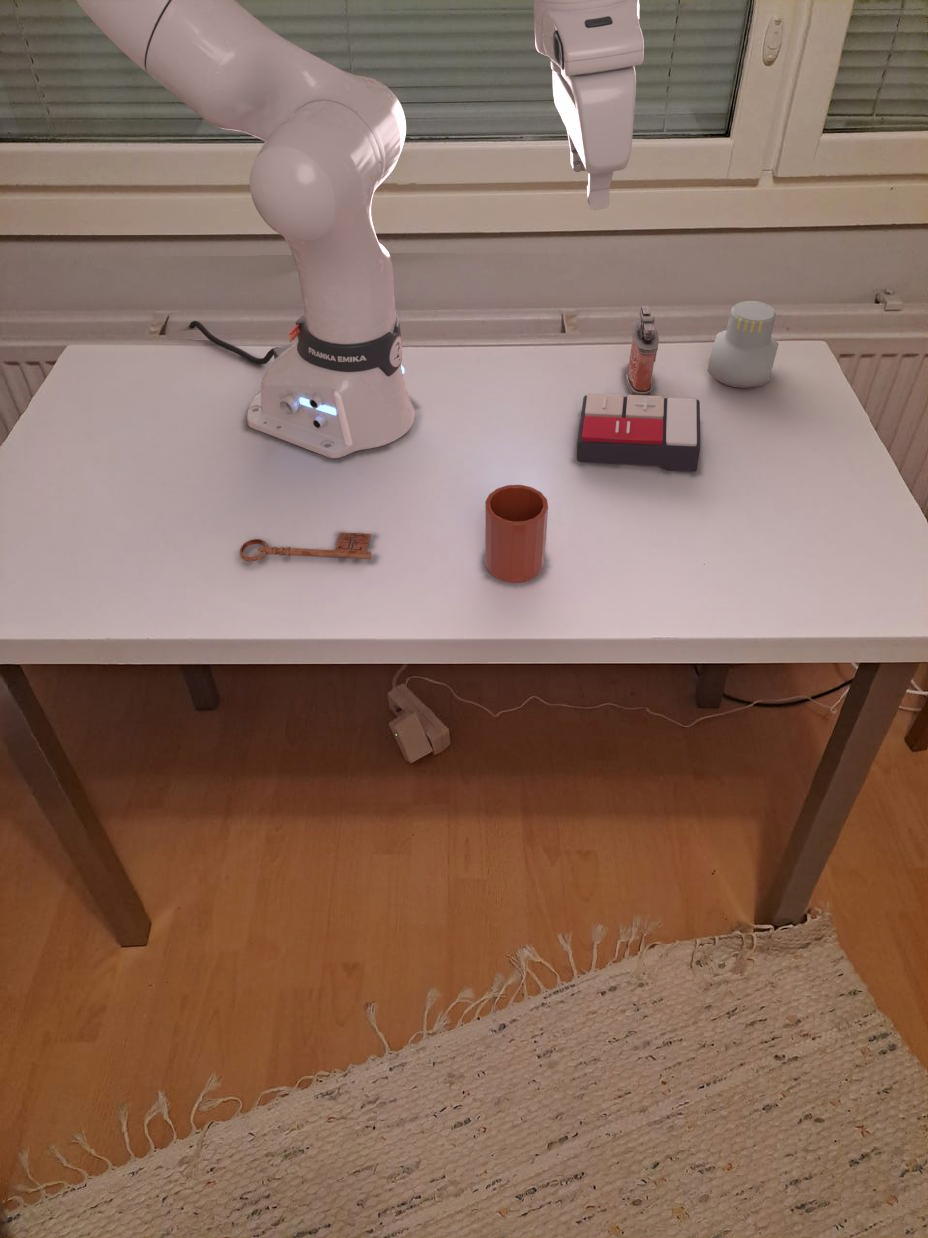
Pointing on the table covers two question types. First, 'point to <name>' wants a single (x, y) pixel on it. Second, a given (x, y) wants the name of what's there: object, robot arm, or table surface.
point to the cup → (515, 533)
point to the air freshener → (745, 346)
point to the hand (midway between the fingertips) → (589, 186)
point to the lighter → (642, 354)
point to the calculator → (640, 431)
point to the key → (341, 552)
